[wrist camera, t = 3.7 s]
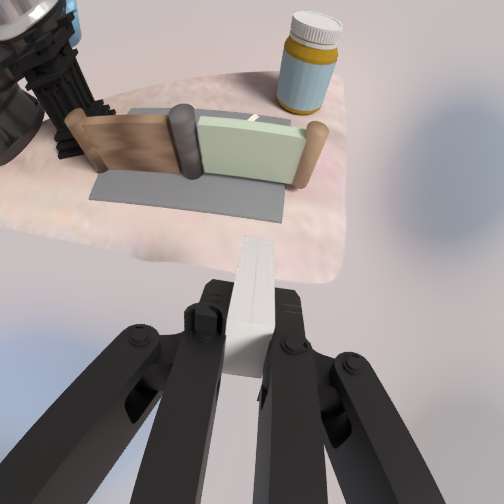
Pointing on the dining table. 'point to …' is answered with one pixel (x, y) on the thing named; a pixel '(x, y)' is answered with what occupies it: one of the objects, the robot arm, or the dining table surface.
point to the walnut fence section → (140, 141)
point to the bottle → (308, 61)
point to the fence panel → (261, 149)
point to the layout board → (196, 183)
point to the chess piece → (56, 79)
